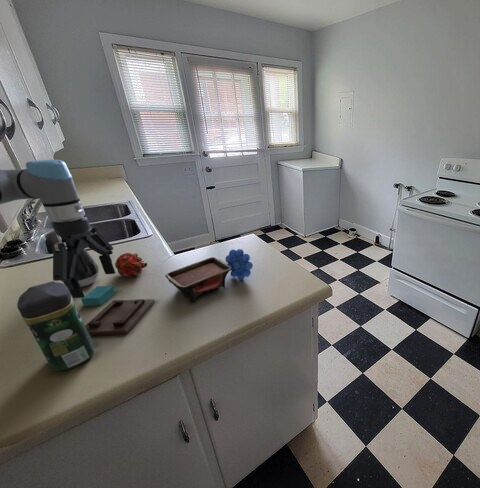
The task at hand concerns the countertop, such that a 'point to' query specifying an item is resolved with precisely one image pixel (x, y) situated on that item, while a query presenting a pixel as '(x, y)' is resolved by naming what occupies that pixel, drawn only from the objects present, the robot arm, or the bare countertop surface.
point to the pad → (98, 295)
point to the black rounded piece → (85, 269)
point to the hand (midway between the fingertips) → (95, 284)
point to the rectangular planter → (199, 277)
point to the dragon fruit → (129, 264)
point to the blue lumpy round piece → (239, 263)
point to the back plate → (118, 317)
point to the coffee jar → (56, 325)
